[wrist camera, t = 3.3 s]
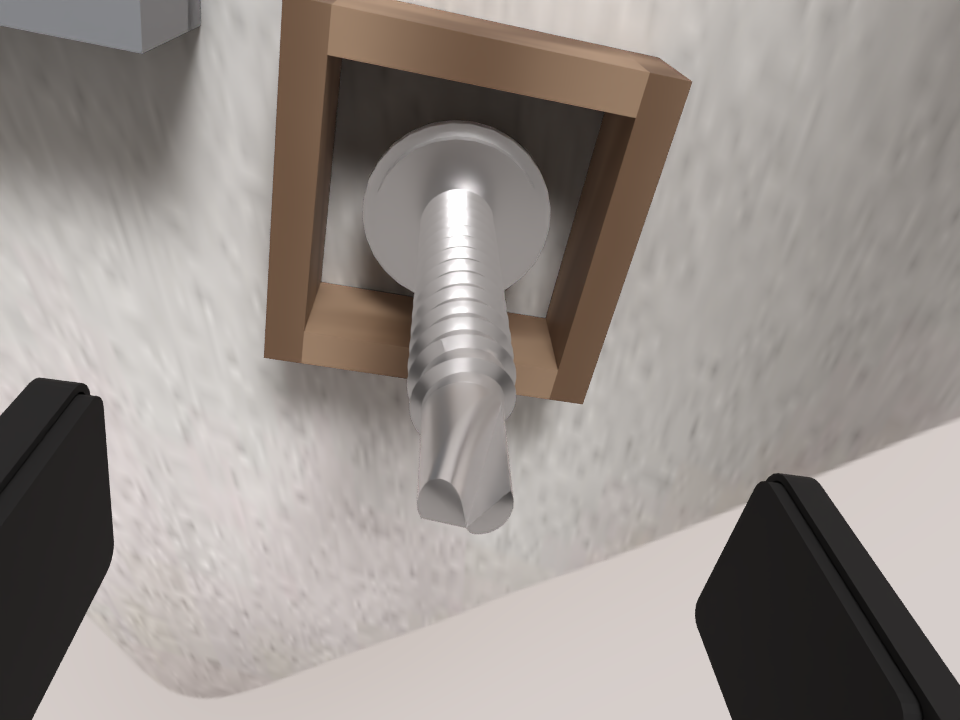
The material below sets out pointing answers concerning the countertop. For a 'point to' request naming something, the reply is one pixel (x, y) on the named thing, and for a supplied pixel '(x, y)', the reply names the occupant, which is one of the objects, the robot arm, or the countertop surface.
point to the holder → (483, 62)
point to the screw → (459, 301)
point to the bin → (105, 20)
